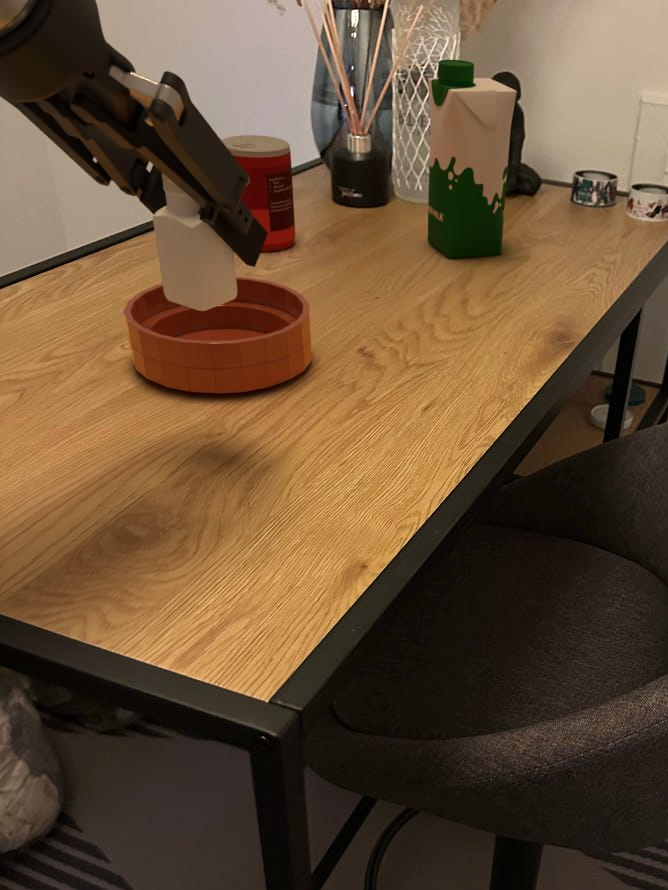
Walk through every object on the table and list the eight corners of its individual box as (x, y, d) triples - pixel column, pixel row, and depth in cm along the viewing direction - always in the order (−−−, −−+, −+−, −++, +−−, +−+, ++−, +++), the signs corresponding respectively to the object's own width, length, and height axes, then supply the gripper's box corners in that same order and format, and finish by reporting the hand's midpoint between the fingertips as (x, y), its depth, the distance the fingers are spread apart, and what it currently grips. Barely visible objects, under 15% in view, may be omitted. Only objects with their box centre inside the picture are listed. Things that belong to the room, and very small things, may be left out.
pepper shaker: (161, 302, 68) (139, 158, 62) (201, 287, 71) (183, 148, 64) (203, 315, 66) (184, 169, 60) (241, 299, 69) (227, 159, 63)
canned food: (227, 233, 116) (216, 134, 109) (292, 231, 118) (286, 134, 111) (231, 253, 110) (220, 151, 103) (299, 251, 112) (293, 151, 105)
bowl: (94, 370, 84) (83, 316, 81) (209, 314, 96) (203, 264, 93) (243, 415, 80) (237, 359, 76) (344, 350, 91) (343, 298, 88)
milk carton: (418, 239, 119) (421, 55, 106) (483, 234, 122) (494, 55, 109) (444, 262, 113) (451, 70, 100) (512, 256, 116) (527, 69, 103)
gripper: (-161, 30, 49) (118, 265, 71) (97, 76, 44) (310, 314, 66) (-107, -98, 49) (154, 176, 72) (155, -67, 44) (348, 217, 67)
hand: (229, 242), depth 69 cm, fingers closed on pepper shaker, 4 cm apart
